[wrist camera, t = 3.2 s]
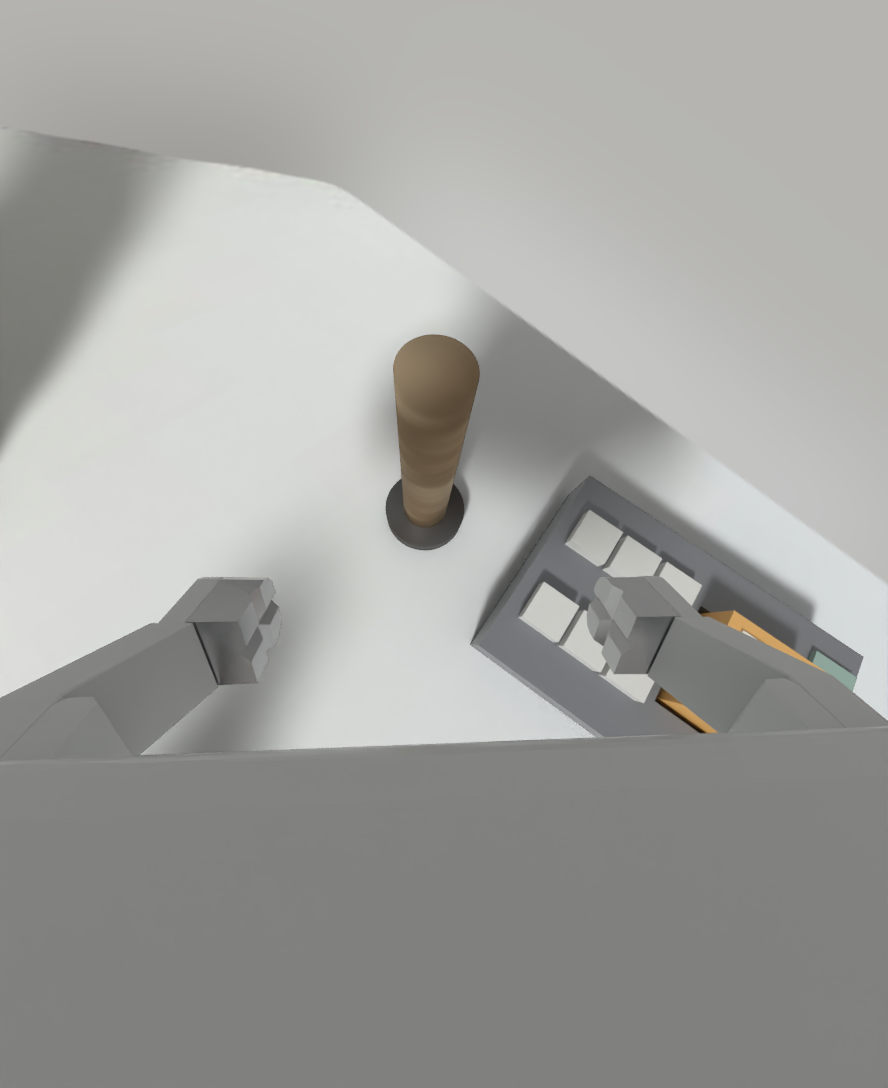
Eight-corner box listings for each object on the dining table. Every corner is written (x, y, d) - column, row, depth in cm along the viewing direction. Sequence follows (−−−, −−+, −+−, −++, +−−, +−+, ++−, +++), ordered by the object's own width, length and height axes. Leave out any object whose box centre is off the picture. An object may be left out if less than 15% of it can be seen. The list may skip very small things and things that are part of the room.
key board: (470, 644, 22) (481, 645, 18) (568, 494, 25) (596, 469, 21) (736, 839, 20) (808, 884, 16) (807, 654, 23) (881, 657, 19)
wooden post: (371, 521, 23) (321, 379, 10) (416, 466, 24) (419, 281, 12) (433, 565, 23) (456, 472, 10) (475, 507, 24) (544, 360, 11)
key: (649, 696, 20) (692, 706, 17) (690, 614, 21) (736, 610, 18) (737, 758, 19) (797, 781, 16) (772, 670, 21) (834, 676, 18)
